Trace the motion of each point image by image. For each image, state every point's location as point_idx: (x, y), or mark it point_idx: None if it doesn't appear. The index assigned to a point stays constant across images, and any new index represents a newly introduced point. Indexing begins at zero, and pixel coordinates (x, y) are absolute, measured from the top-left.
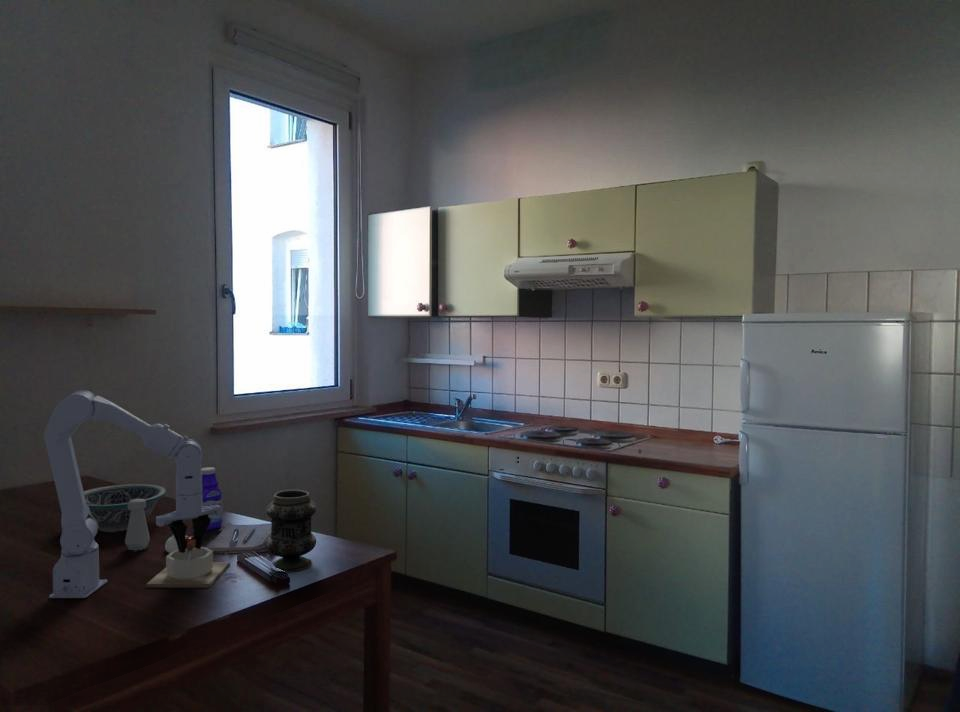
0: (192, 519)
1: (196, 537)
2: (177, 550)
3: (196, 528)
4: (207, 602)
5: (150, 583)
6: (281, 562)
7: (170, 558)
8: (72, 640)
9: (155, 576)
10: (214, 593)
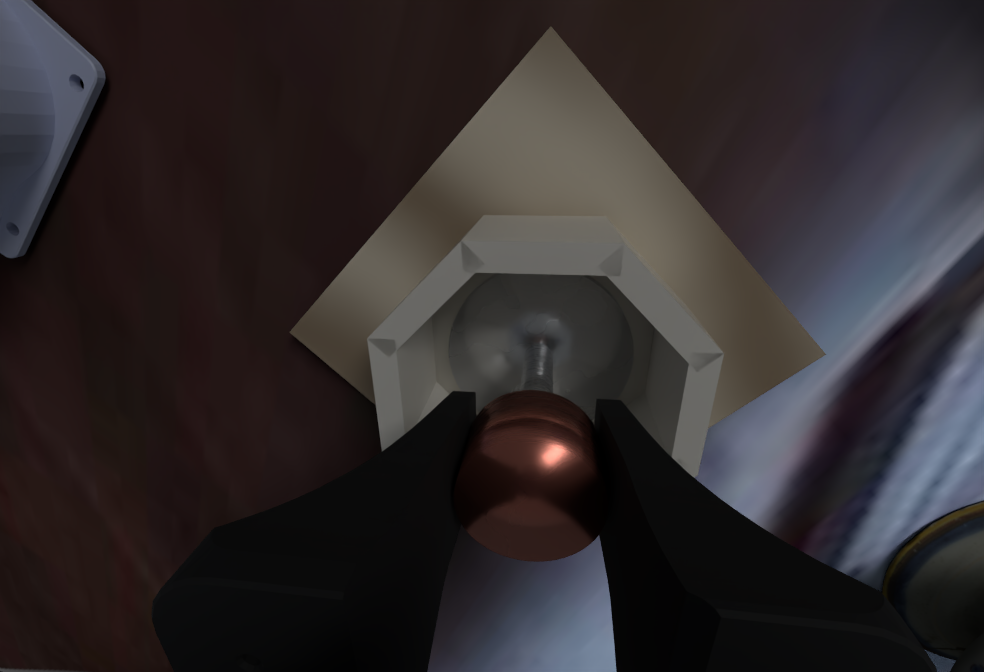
0: (675, 604)
1: (592, 536)
2: (495, 261)
3: (628, 596)
4: (457, 620)
5: (308, 343)
6: (967, 603)
7: (381, 400)
8: (44, 562)
9: (356, 257)
10: (517, 581)
